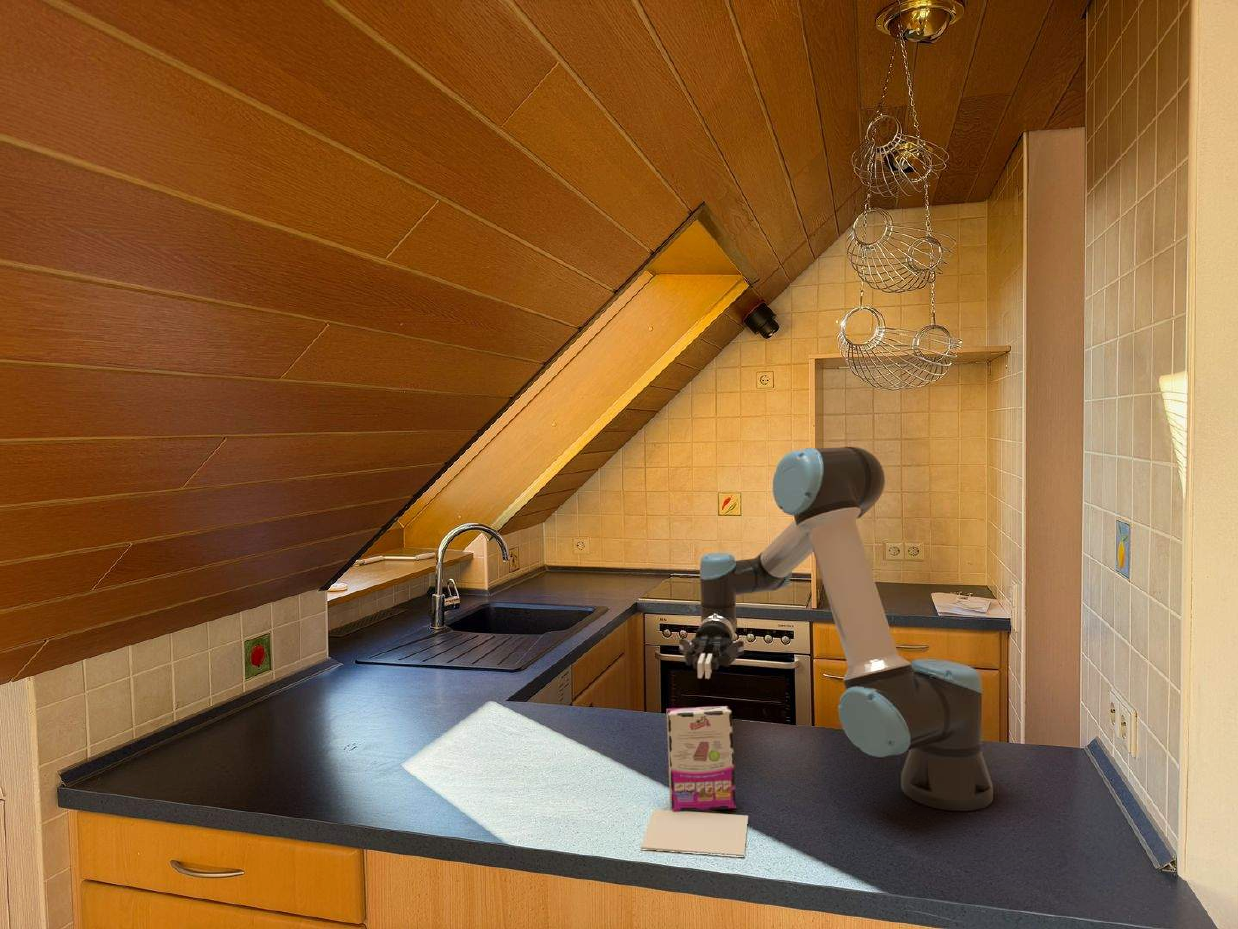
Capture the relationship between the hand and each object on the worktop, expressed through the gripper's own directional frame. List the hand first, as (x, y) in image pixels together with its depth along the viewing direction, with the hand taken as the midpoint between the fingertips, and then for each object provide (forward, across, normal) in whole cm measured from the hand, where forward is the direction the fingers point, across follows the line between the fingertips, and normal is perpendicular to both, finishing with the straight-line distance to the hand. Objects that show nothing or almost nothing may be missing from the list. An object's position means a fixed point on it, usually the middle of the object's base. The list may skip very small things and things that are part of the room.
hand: (703, 670), depth 151 cm
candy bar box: (+6, 0, +22) cm, 23 cm away
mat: (+16, 0, +22) cm, 27 cm away
